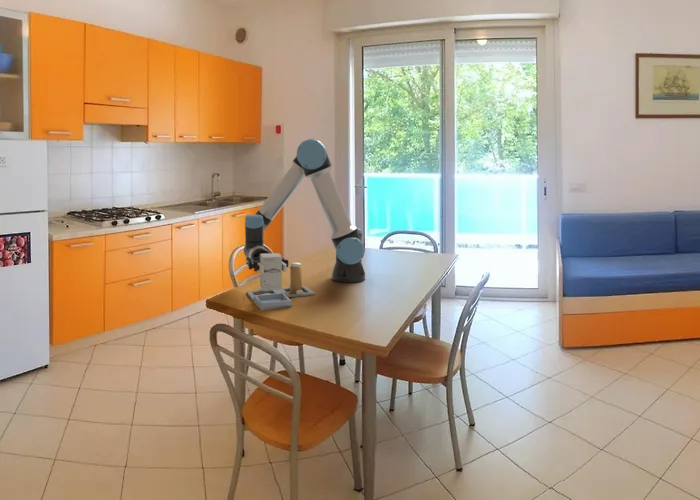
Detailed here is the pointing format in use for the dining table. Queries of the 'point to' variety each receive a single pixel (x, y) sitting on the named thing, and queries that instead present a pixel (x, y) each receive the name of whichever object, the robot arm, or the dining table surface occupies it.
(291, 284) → the amber bottle
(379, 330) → the dining table surface
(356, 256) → the robot arm
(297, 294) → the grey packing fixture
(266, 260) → the supplement box
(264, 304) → the tray
